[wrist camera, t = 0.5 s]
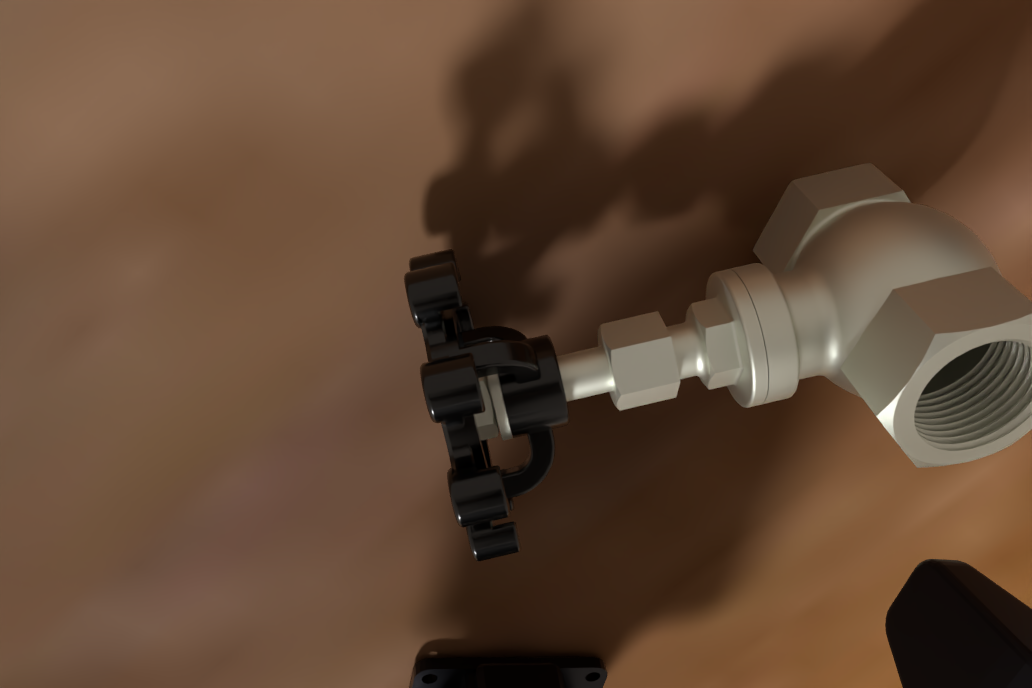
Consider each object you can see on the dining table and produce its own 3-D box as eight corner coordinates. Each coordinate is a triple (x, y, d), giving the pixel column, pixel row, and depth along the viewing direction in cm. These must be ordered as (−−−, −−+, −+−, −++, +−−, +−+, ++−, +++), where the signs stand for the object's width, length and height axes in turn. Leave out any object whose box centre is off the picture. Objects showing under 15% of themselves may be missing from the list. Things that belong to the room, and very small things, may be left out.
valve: (922, 81, 20) (396, 200, 20) (1132, 216, 14) (412, 382, 14) (897, 319, 24) (458, 421, 23) (1055, 495, 18) (489, 628, 18)
